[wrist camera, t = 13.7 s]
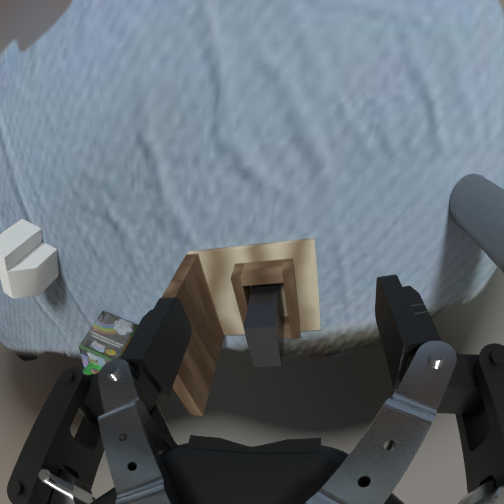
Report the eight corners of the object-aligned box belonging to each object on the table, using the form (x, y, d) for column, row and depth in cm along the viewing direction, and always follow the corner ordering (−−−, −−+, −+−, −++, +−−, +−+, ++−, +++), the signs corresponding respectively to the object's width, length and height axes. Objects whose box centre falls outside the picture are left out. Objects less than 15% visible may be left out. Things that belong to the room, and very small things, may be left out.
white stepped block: (22, 218, 49) (-15, 245, 38) (56, 235, 50) (19, 267, 39) (25, 257, 54) (-6, 285, 44) (58, 275, 55) (28, 308, 45)
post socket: (314, 238, 44) (325, 328, 27) (320, 325, 52) (325, 416, 36) (188, 251, 47) (141, 333, 31) (215, 331, 56) (190, 414, 39)
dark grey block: (279, 273, 46) (274, 326, 36) (284, 311, 50) (281, 366, 40) (254, 275, 47) (243, 328, 37) (261, 313, 51) (254, 367, 40)
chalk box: (104, 335, 62) (77, 381, 50) (102, 309, 58) (69, 357, 45) (138, 349, 63) (114, 398, 50) (139, 324, 58) (110, 377, 45)
